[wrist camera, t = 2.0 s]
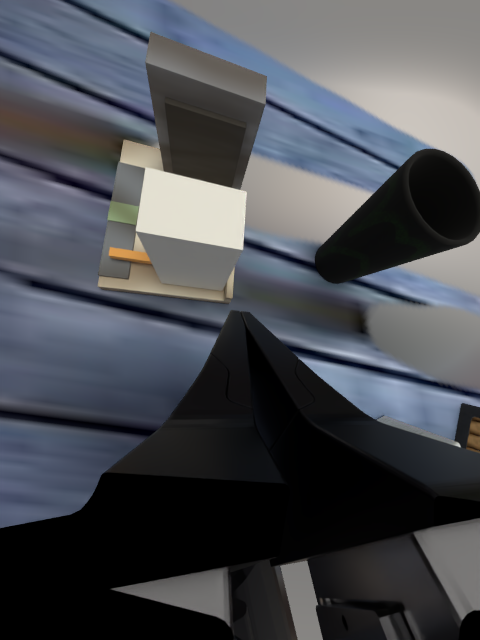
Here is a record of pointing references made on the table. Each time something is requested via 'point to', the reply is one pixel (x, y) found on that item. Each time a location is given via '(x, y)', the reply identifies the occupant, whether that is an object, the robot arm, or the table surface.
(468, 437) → the ammunition clip
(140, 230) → the gauge slider
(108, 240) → the frame
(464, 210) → the cup
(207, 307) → the table surface
